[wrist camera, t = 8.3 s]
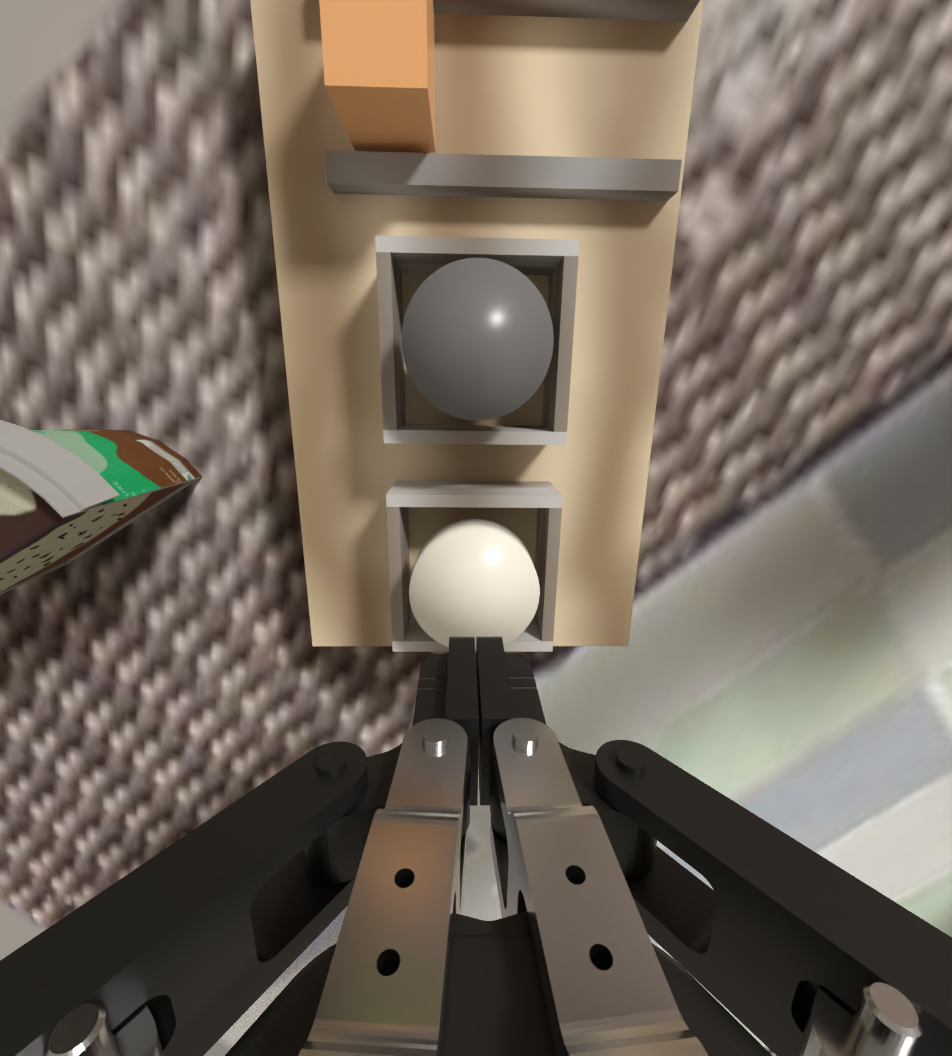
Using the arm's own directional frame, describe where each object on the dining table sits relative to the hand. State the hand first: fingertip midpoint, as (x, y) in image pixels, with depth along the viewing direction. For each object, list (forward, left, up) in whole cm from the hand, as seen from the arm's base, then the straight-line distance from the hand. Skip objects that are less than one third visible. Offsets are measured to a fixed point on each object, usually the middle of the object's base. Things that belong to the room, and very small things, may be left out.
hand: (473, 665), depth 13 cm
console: (0, -9, -14) cm, 16 cm away
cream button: (0, 0, -7) cm, 7 cm away
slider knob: (+3, -18, -9) cm, 20 cm away
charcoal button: (0, -9, -7) cm, 11 cm away
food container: (+20, -3, -14) cm, 24 cm away
